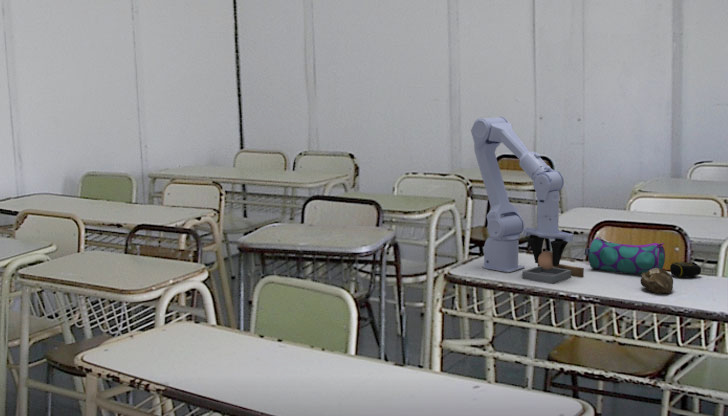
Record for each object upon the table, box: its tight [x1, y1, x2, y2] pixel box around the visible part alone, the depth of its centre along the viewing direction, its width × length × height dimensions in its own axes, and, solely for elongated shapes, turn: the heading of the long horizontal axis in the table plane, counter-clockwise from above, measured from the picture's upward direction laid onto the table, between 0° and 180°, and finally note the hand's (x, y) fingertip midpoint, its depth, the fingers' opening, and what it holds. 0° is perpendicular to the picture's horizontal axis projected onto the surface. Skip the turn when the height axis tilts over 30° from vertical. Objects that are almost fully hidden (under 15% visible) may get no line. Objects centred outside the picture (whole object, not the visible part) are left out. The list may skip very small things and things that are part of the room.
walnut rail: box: [537, 263, 585, 278], centre depth 235 cm, size 14×1×2 cm, turn 46°
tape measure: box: [669, 261, 702, 279], centre depth 230 cm, size 7×7×4 cm
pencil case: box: [583, 236, 666, 276], centre depth 235 cm, size 21×9×10 cm, turn 55°
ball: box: [537, 250, 554, 269], centre depth 230 cm, size 5×5×5 cm
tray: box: [521, 265, 572, 285], centre depth 231 cm, size 10×10×2 cm
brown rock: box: [640, 268, 674, 294], centre depth 215 cm, size 8×7×10 cm
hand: (547, 264), depth 230 cm, fingers closed on ball, 5 cm apart
